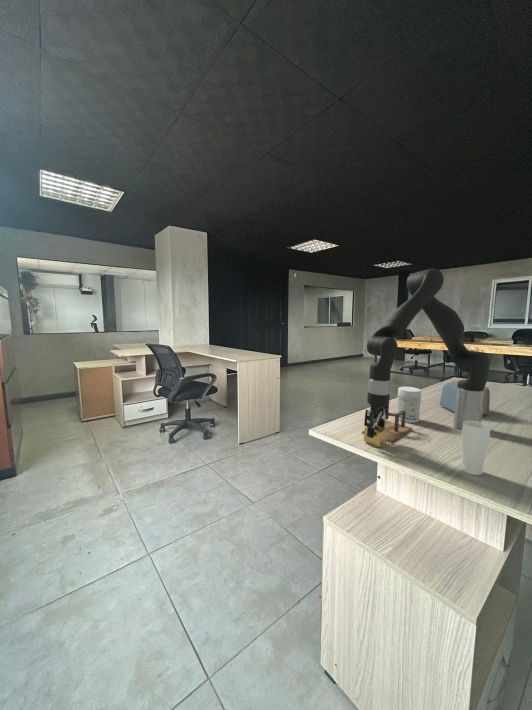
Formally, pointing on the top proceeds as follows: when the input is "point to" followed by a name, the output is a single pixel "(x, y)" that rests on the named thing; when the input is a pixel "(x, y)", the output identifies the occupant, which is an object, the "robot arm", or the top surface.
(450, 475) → the top surface
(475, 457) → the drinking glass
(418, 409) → the supplement tub
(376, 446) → the end peg
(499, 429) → the top surface
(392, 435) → the wire board
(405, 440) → the top surface
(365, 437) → the yellow open box
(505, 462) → the top surface
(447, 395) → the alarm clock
